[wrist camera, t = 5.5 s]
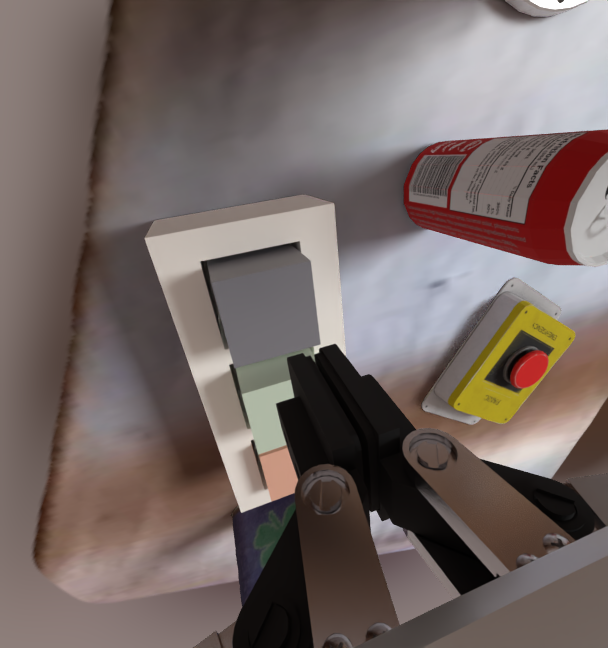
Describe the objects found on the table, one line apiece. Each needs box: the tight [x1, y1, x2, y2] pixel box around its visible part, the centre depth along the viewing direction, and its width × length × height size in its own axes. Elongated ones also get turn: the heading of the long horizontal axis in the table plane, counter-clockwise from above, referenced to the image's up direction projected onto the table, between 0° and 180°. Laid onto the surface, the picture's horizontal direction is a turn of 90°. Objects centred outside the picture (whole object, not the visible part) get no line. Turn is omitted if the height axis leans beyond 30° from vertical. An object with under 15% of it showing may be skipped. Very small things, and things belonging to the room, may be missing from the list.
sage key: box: [236, 348, 315, 455], centre depth 20 cm, size 4×4×4 cm
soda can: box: [404, 130, 608, 267], centre depth 18 cm, size 6×6×12 cm
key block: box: [145, 194, 346, 513], centre depth 22 cm, size 20×9×5 cm, turn 7°
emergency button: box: [422, 278, 575, 424], centre depth 32 cm, size 9×4×15 cm
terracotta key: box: [259, 445, 298, 501], centre depth 24 cm, size 4×4×4 cm
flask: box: [231, 493, 296, 607], centre depth 27 cm, size 9×3×11 cm, turn 115°
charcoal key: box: [207, 243, 321, 368], centre depth 17 cm, size 4×4×4 cm
